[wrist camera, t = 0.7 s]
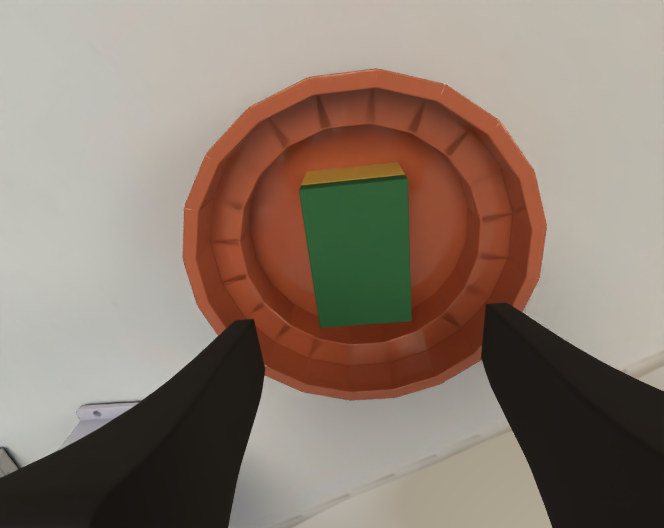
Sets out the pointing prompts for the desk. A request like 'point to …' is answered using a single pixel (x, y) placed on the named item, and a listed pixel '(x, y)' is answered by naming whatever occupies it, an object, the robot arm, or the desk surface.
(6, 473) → the medicine box
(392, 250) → the dish sponge
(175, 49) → the desk surface
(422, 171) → the bowl
